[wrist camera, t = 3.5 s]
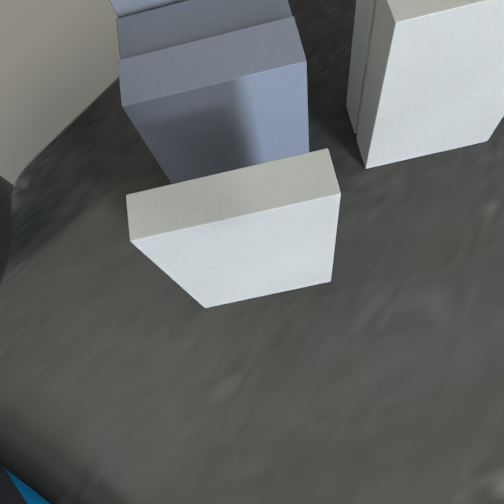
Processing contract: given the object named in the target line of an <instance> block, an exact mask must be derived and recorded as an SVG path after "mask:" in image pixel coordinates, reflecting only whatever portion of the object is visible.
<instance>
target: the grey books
mask: <svg viewBox="0 0 504 504" xmlns="http://www.w3.org/2000/svg"><path fill="white" fill-rule="evenodd" d="M109 1H110V3H111V5H112V7H113V9H114V11H115V13H116V15H117V17H118V19H117V20H116V21H117V31H118V41H119V52H120V60H118V72H119V82H120V93H121V103H122V108H123V109H124V111H125V112H126V114H127V115H128V117H129V118H130V120H131V121H132V123H133V125H134V126H135V128H136V129H137V131H138V132H139V134H140V135H141V137H142V139H143V140H144V142H145V143H146V145H147V146H148V148H149V149H150V151H151V152H152V154H153V156H154V157H155V159H156V160H157V162H158V163H159V165H160V166H161V168H162V169H163V171H164V173H165V174H166V176H167V177H168V179H169V180H170V182H171V183H172V184H175V183H180V182H184V181H188V180H193V179H197V178H201V177H206V176H210V175H214V174H218V173H223V172H227V171H231V170H236V169H240V168H244V167H249V166H253V165H257V164H262V163H266V162H270V161H275V160H279V159H283V158H288V157H292V156H296V155H301V154H305V153H309V130H308V95H307V61H306V57H305V54H304V50H303V47H302V43H301V40H300V36H299V33H298V29H297V26H296V22H295V19H294V16H292V14H291V10H290V7H289V3H288V0H109Z"/></svg>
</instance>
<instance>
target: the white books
mask: <svg viewBox="0 0 504 504" xmlns="http://www.w3.org/2000/svg"><path fill="white" fill-rule="evenodd" d="M346 108H347V111H348V114H349V117H350V121H351V124H352V127H353V130H354V133H357V137H356V140H357V143H358V146H359V150H360V153H361V156H362V159H363V163H364V166H365V169H367V168H371V167H376V166H380V165H385V164H389V163H393V162H398V161H402V160H407V159H411V158H415V157H420V156H424V155H429V154H433V153H438V152H442V151H446V150H451V149H455V148H460V147H464V146H468V145H473V144H477V143H482V142H486V141H488V139H489V138H490V136H491V135H492V133H493V131H494V130H495V128H496V127H497V125H498V124H499V122H500V121H501V119H502V117H503V116H504V0H356V9H355V19H354V29H353V39H352V50H351V60H350V70H349V80H348V90H347V100H346Z"/></svg>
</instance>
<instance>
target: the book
mask: <svg viewBox="0 0 504 504" xmlns="http://www.w3.org/2000/svg"><path fill="white" fill-rule="evenodd" d="M4 469H5V468H4ZM5 470H6V472H7V473H8V475H9V476H10V478H11V479H12V481H13V482H14V484H15V485H16V487H17V489H18V490H19V492H20V493H21V495H22V496H23V498H24V499H25V501H26V502H27V504H50V503H49V502H48V501H46V500H45V499H44V498H43V497H41V496H40V495H39V494H37V493H36V492H35V491H34V490H32V489H31V488H30V487H29V486H27V485H26V484H25V483H23V482H22V481H21V480H20V479H18V478H17V477H16V476H14V475H13V474H12V473H11V472H9V471H8V470H7V469H5Z"/></svg>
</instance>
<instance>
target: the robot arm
mask: <svg viewBox="0 0 504 504" xmlns="http://www.w3.org/2000/svg"><path fill="white" fill-rule="evenodd" d="M0 504H27V502H26V501H25V499H24V498H23V496H22V495H21V493H20V492H19V490H18V489H17V487H16V485H15V484H14V482H13V481H12V479H11V478H10V476H9V475H8V473H7V472H6V470H5V469H4V467H3V466H2V465H0Z"/></svg>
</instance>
